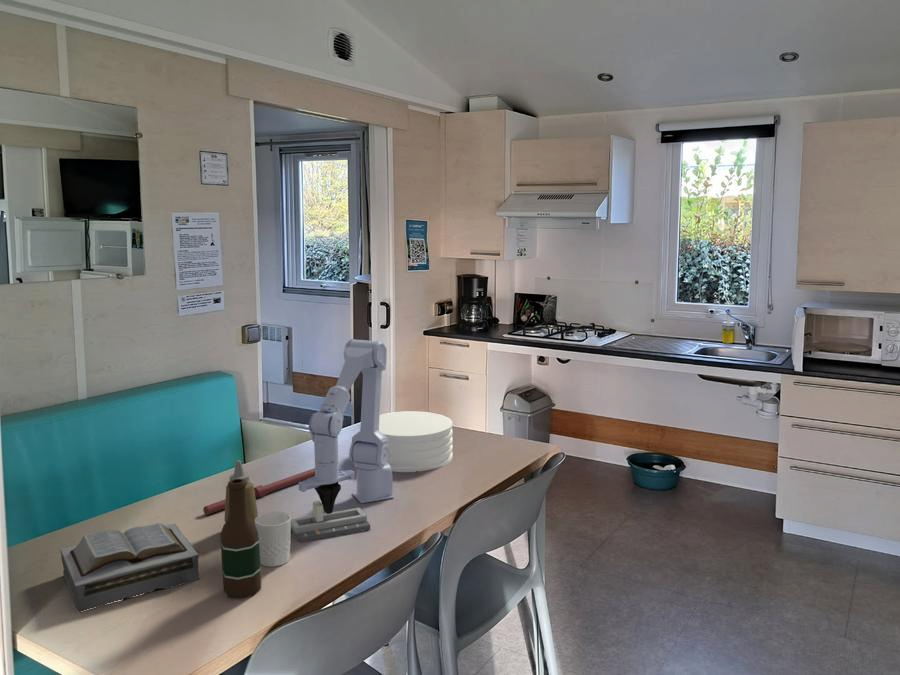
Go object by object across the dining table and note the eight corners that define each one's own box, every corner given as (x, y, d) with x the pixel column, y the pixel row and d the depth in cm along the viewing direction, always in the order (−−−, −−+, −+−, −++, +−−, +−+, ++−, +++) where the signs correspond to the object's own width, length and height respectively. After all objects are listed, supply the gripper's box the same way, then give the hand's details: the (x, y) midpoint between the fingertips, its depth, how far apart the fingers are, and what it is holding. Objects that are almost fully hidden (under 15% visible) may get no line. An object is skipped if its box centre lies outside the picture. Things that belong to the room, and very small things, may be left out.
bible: (64, 567, 168) (60, 526, 166) (191, 545, 179) (189, 506, 177) (57, 619, 147) (53, 572, 145) (202, 590, 158) (199, 546, 156)
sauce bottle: (227, 582, 160) (221, 474, 156) (264, 580, 161) (259, 473, 157) (219, 600, 153) (212, 488, 149) (258, 599, 153) (252, 487, 149)
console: (356, 513, 196) (356, 503, 196) (370, 529, 187) (370, 519, 186) (287, 525, 189) (287, 515, 189) (298, 542, 179) (298, 532, 179)
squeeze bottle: (265, 526, 188) (262, 457, 185) (246, 540, 181) (243, 468, 178) (237, 522, 191) (234, 454, 188) (218, 535, 183) (214, 464, 180)
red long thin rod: (209, 518, 194) (208, 506, 194) (202, 515, 196) (201, 503, 196) (338, 471, 229) (338, 461, 228) (331, 469, 231) (330, 459, 230)
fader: (322, 520, 189) (321, 499, 188) (326, 526, 185) (325, 504, 185) (310, 522, 187) (309, 501, 187) (314, 528, 184) (313, 506, 183)
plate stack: (402, 439, 260) (402, 406, 258) (469, 454, 244) (469, 419, 242) (346, 460, 238) (345, 425, 236) (416, 479, 222) (415, 441, 220)
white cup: (283, 569, 166) (281, 527, 164) (250, 566, 167) (248, 524, 166) (297, 554, 173) (296, 513, 172) (266, 551, 175) (264, 510, 173)
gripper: (344, 450, 192) (345, 500, 195) (292, 461, 183) (294, 514, 186) (358, 457, 187) (359, 508, 189) (305, 469, 178) (307, 523, 180)
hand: (328, 512), depth 187 cm, fingers closed
